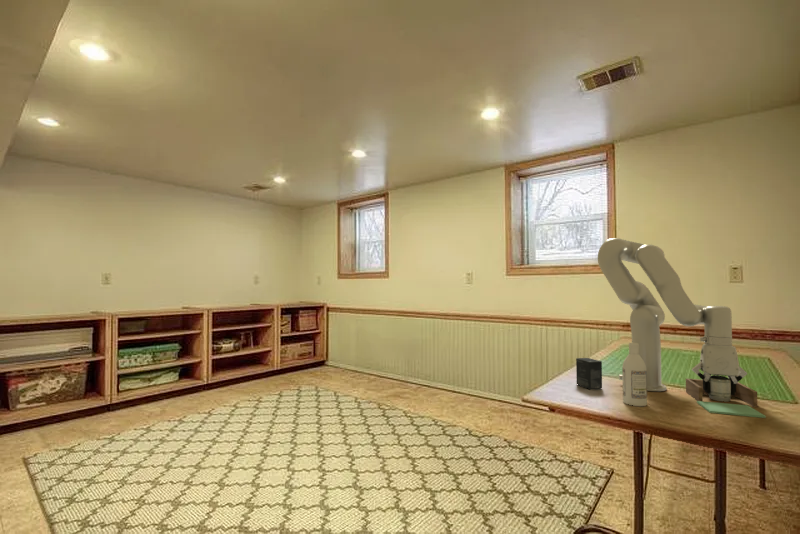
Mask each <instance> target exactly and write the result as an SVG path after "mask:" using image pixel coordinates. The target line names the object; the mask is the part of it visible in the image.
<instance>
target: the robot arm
mask: <svg viewBox="0 0 800 534" xmlns="http://www.w3.org/2000/svg"><path fill="white" fill-rule="evenodd" d="M597 252H598V253H597V263H598V266H599V268H600V271H601V272H602V274H603V276H604V277H605V279H606V280H607V282H608V283H609V286H610V287H611V288H612V290H613V291H614V293H615V295H616V296H617V298H618V300H619V301H620V302H621V303H623V304H624V305H629V306H630V308H631V310H632V312H631V313H630V317H629V324H630V332H631V343H638V344H639V355H640V357H641V358H642V359H643V361H644V363H645V365H646V370H647V392H648V391H649V392H664V391H667V386H666V385H665V384H663V383H662V344H661V343H662V342H661V331H660V326H661V325H662V324H664V322H665V320H666V318H665V317H666V314H665V311H664V309H663V308H662V307H661V305H660V303H659V302H658V300H657V299H656V298H655V297H654V295H653V294H652V292H651V291H650V290H649V288H648V287H647V286H646V285H645V284H644V282H643V283H642V282H640V281H638V280H636V279H635V278H634V277H633V275H632V273H630V271H629V269H628V268H627V267H626V266H625V264H624V263H623V261H624V262H628V263H632V264H638V265H639V267H640V268H641V269H642V270H643V271H644V273H645V275H646V276H647V277H648V279H649V280H650V282H651V283H652V285H653V286H654V287H655V289H656V291H657V293H658V295H659V296H660V298H661V299H662V301H663V303H664V305H665V306H666V308H668V311H669V312H670V314H671V315H672V316H673V318H674V319H675V320H676V322H678V323H679V324H681V325H682V326H685V327H693V326H698V325H704V326H703V327H704V335H703V336H702V337H701V336H700V337H699V341H700V342H703V344H702V346H701V350H700V356H699V357H700V358H699V360H700V361H699V362H698V363H697V364H696V365H695V366H692V368H691V371H692V372H693V373H695V374H696V376H697V377H699V378H700V380H703V390H705V392H706V393H709V394H710V382H709V378H710V376H712V375H718V376H725V377H726V376H727V378H729V379H730V380H731V395H734V396H735V393H736V384H737V383H738V382H740V381H741V380H742V379H744V377H746V376H747V375H748V372H747V371H745V370H744V369H743V368H742V367H741V366H740V363H739V357H738V351H737V349H736V346H733V331H732V330H733V326H732V325H733V324H732V323H733V322H732V309H731V307H728V306H723V305H708V306H707V305H701V304H700V305H699V304H694V302H693V301H692V300H691V298H690V297H689V296H688V294H687V293H686V291H685V289H684V288H683V286H682V282H681V278H680V276H679V274H678V273H677V272H676V271H675V270H674V268H673V266H672V265H671V264H670V262H669V261H668V259H667V258H666V257H665V255H666V254H665V253H664V250H663V249H662V248H660V247H659V246H657V245H654V244H644V243H641V242H636V241H630V240H626V239H624V238H623V239H622V238H619V237H613V238H608V239H606V241H604V242H603V243H602V244H601V246H600V248H599V250H598V251H597ZM700 370H701V372H700ZM702 372H703V374H702ZM618 379H619V380H620V381H623V374H618Z"/></svg>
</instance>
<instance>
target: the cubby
mask: <svg viewBox="0 0 800 534" xmlns="http://www.w3.org/2000/svg"><path fill="white" fill-rule="evenodd" d="M685 392H687V394H688V395H689V396H690V395H691V396H690V397H692V398H693V399H694V398H695V399H694V400H695V401H696V402H697V401H704V400H703V395H707V396H709V394H708V393H706V392H705V390H703V380H702V379H701V378H700V379H698V378H697V379H696V378H685ZM731 397H734V398H738V399H739V400H741V401H743V402H745V403H746V402H747V403H746V404H749V406H751V405H752V408H753V407H754V408H758V391H757V390H754V389H752V388H751V387H749V386H747V385H745V384H743V383H740V381H738V383H737V384H736V393H735V396H734V395H731Z"/></svg>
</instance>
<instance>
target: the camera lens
mask: <svg viewBox="0 0 800 534" xmlns="http://www.w3.org/2000/svg"><path fill="white" fill-rule="evenodd" d="M709 382H710V394H709V393H708V394H709V395H708V396H709V397H708V398H709V399H711V400H713V401H717V402H723V401H724V402H725V403H727V402H730V401H731V380H730V379H729V378H728V376H727V377H726V376H723V375H711V376H710V378H709ZM724 402H723V403H724Z"/></svg>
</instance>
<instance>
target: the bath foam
mask: <svg viewBox="0 0 800 534" xmlns="http://www.w3.org/2000/svg"><path fill="white" fill-rule="evenodd" d="M621 369H622V373H621V375H623V380H622V402H623V403H624V404H626V405H628V404H629V406H632V405H633V406H634V407H646V406H647V405H648V391H647V370H646V365H645V363H644V361H643V359H642V358H641V357H640V355H639V344H638V343H632V342H629V343H628V354H627V356H626V357H625V359H624V360H623V362H622V368H621ZM633 406H632V407H633Z"/></svg>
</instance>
